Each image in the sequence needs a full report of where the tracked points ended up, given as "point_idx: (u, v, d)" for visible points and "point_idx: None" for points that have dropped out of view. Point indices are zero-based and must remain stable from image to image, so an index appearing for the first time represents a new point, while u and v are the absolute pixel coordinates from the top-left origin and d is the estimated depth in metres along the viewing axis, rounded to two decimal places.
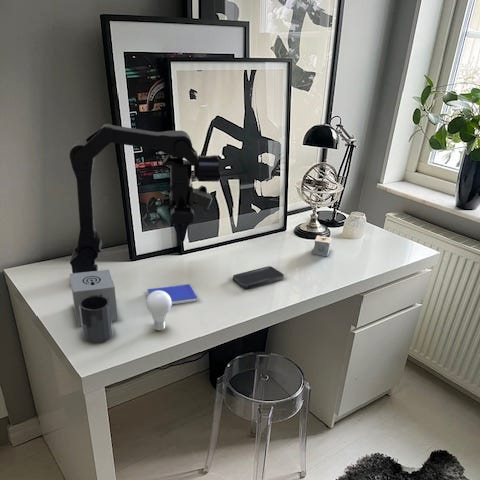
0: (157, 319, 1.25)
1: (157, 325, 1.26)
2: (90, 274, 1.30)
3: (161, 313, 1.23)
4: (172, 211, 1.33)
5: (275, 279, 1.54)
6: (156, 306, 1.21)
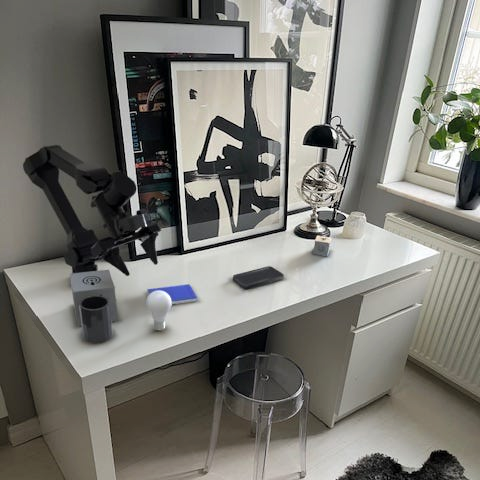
0: (157, 319, 1.25)
1: (157, 325, 1.26)
2: (90, 274, 1.30)
3: (161, 313, 1.23)
4: None
5: (275, 279, 1.54)
6: (156, 306, 1.21)
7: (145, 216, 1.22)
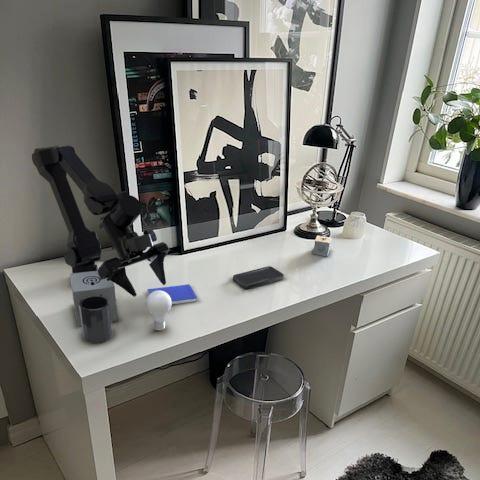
0: (157, 319, 1.25)
1: (157, 325, 1.26)
2: (90, 274, 1.30)
3: (161, 313, 1.23)
4: None
5: (275, 279, 1.54)
6: (156, 306, 1.21)
7: (152, 236, 1.20)
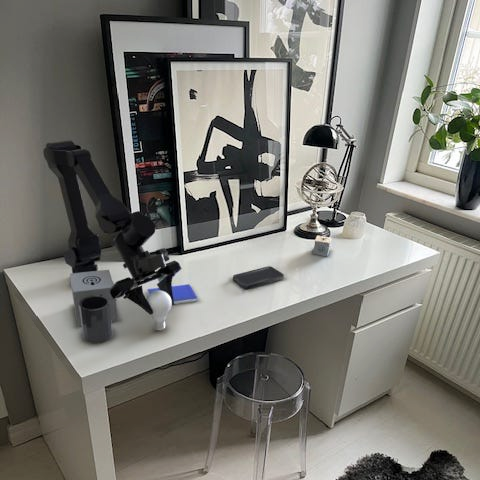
0: (157, 319, 1.25)
1: (157, 325, 1.26)
2: (90, 274, 1.30)
3: (161, 313, 1.23)
4: None
5: (275, 279, 1.54)
6: (156, 306, 1.21)
7: (164, 256, 1.20)
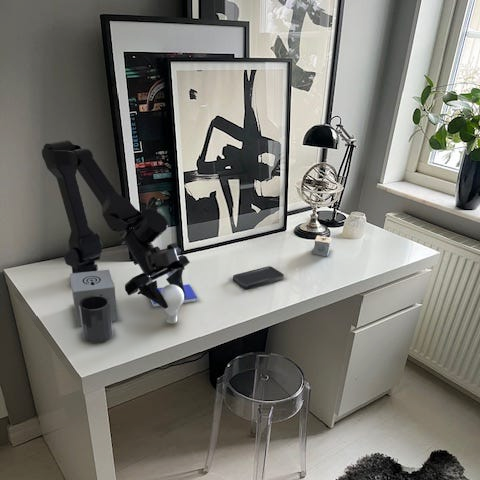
0: (170, 313, 1.28)
1: (170, 319, 1.29)
2: (90, 274, 1.30)
3: (175, 306, 1.26)
4: None
5: (275, 279, 1.54)
6: (170, 300, 1.24)
7: (177, 250, 1.23)
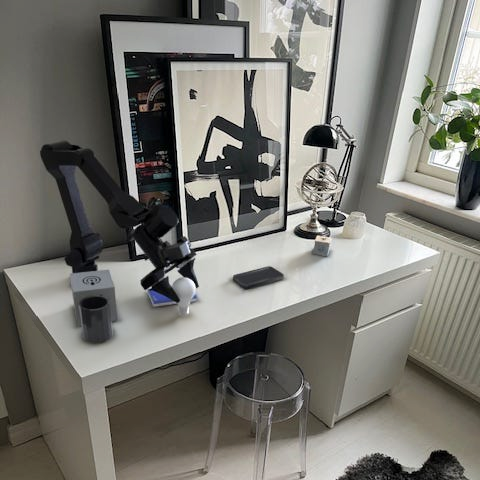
0: (183, 305, 1.31)
1: (183, 311, 1.33)
2: (90, 274, 1.30)
3: (189, 298, 1.30)
4: None
5: (275, 279, 1.54)
6: (184, 292, 1.28)
7: (188, 243, 1.27)
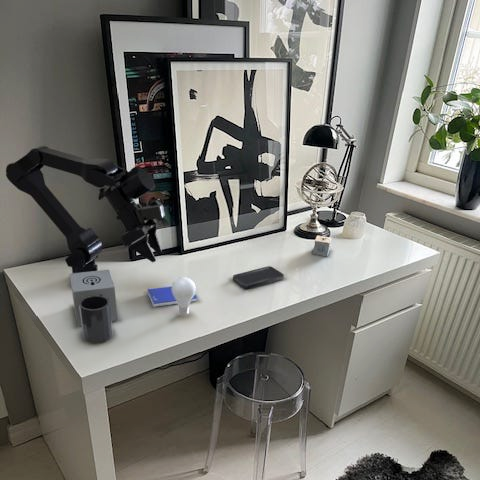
0: (183, 305, 1.31)
1: (183, 311, 1.33)
2: (90, 274, 1.30)
3: (189, 298, 1.30)
4: None
5: (275, 279, 1.54)
6: (184, 292, 1.28)
7: (162, 206, 1.33)
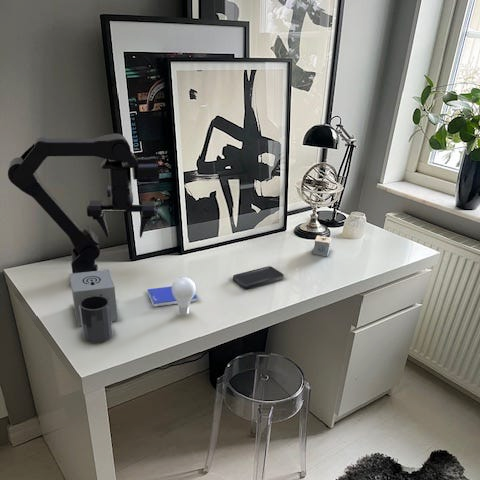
0: (183, 305, 1.31)
1: (183, 311, 1.33)
2: (90, 274, 1.30)
3: (189, 298, 1.30)
4: (148, 208, 1.38)
5: (275, 279, 1.54)
6: (184, 292, 1.28)
7: None
